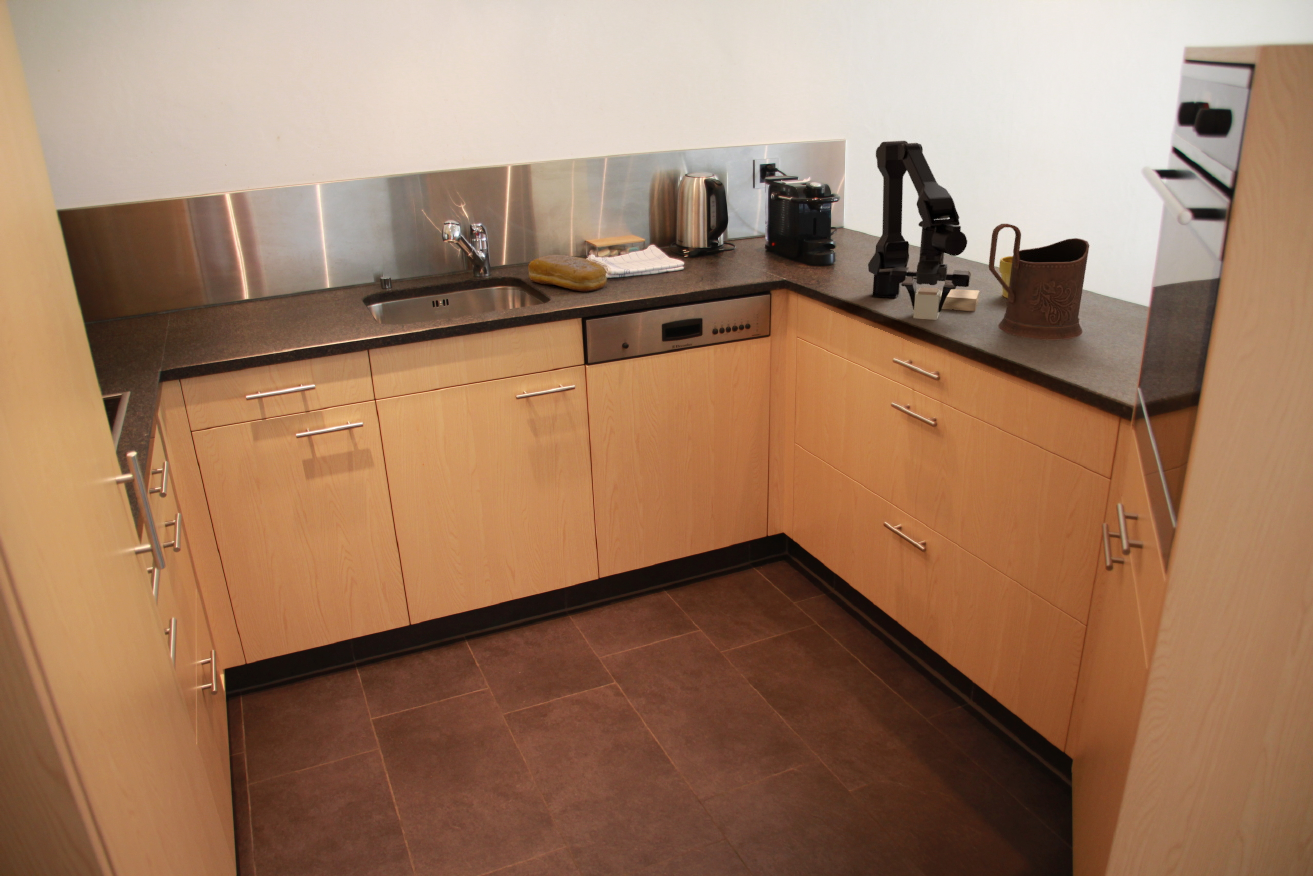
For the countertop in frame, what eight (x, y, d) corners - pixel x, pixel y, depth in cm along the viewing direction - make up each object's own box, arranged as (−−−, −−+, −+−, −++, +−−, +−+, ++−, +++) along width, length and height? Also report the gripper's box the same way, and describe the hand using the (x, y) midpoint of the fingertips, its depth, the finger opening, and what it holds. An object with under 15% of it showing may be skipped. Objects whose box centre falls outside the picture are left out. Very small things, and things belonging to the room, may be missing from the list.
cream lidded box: (913, 318, 229) (915, 291, 226) (916, 312, 234) (918, 286, 231) (936, 319, 227) (939, 293, 224) (939, 313, 232) (941, 287, 229)
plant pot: (1040, 302, 240) (1045, 264, 236) (998, 301, 242) (1003, 263, 238) (1033, 292, 249) (1038, 255, 245) (993, 291, 251) (997, 255, 247)
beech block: (937, 309, 237) (939, 296, 235) (942, 301, 244) (943, 288, 243) (974, 312, 234) (976, 298, 232) (977, 303, 241) (979, 290, 240)
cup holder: (1100, 335, 212) (1118, 224, 202) (1004, 344, 207) (1018, 231, 197) (1051, 315, 228) (1066, 211, 219) (962, 323, 224) (973, 218, 214)
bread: (551, 275, 284) (549, 249, 280) (617, 286, 268) (616, 258, 265) (519, 284, 274) (517, 257, 271) (586, 295, 259) (585, 267, 256)
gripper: (887, 252, 220) (883, 316, 226) (970, 256, 214) (963, 322, 220) (895, 243, 230) (890, 305, 236) (974, 247, 223) (967, 310, 229)
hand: (926, 310), depth 230 cm, fingers closed on cream lidded box, 6 cm apart
